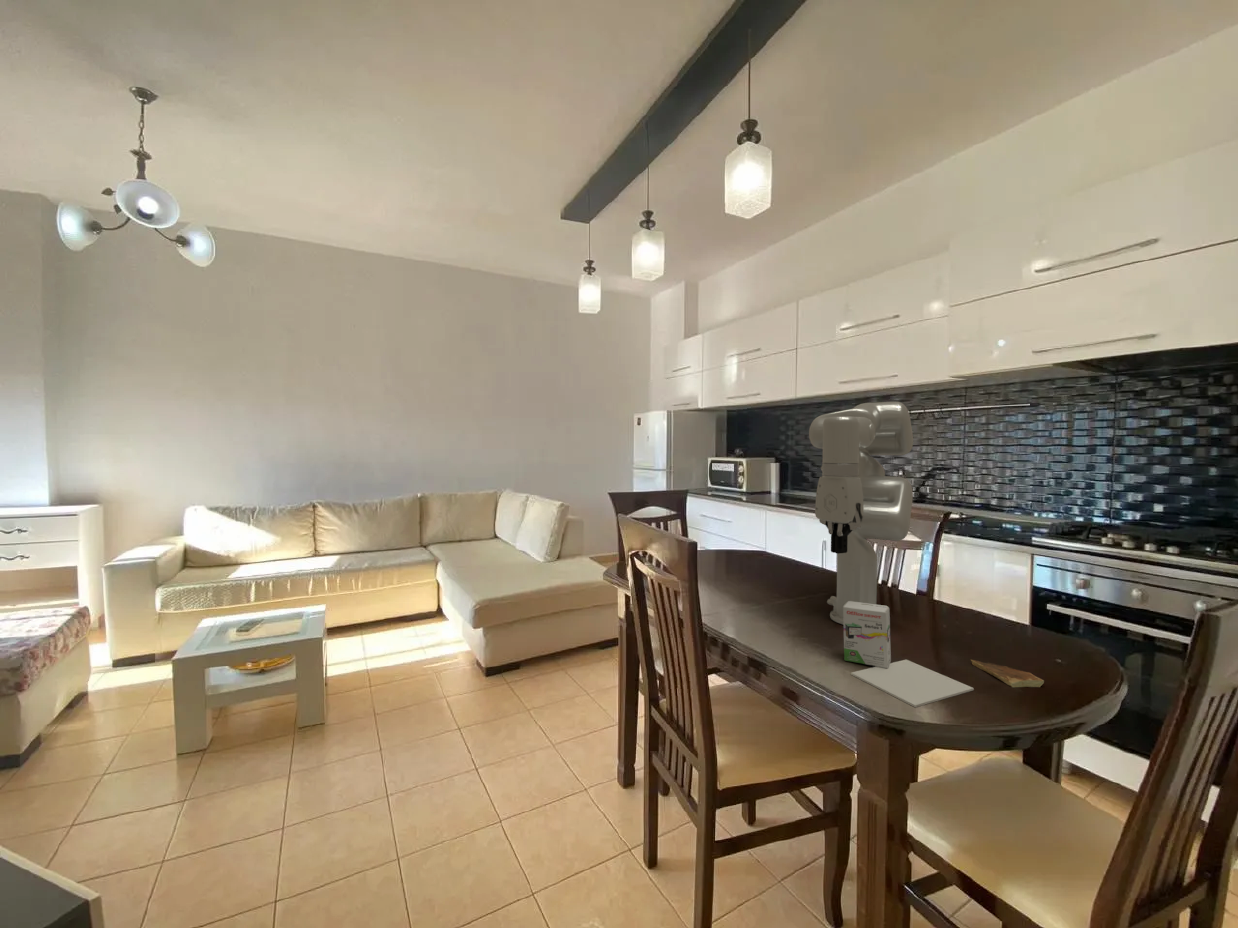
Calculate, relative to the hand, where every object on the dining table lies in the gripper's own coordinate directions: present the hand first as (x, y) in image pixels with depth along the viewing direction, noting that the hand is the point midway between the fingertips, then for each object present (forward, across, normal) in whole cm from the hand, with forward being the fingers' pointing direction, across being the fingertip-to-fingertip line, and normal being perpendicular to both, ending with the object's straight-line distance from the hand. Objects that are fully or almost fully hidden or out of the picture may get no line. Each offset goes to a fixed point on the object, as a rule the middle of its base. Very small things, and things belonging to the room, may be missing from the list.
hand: (839, 552), depth 115 cm
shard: (+23, +24, +19) cm, 38 cm away
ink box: (+22, +8, 0) cm, 23 cm away
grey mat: (+22, +18, 0) cm, 29 cm away
